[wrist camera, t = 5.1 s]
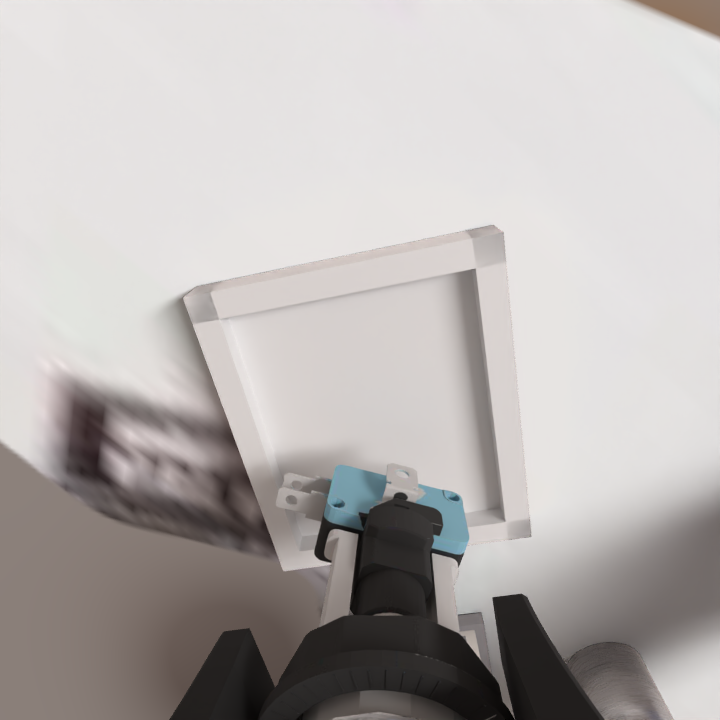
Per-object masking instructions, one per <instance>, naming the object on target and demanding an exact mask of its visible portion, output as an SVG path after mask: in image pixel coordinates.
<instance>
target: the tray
mask: <svg viewBox="0 0 720 720" xmlns="http://www.w3.org/2000/svg"><path fill="white" fill-rule="evenodd" d="M183 300H184V303H185V306H186V308H187V311H188V314H189V316H190V319H191V322H192V325H193V327H194V330H195V333H196V335H197V338H198V341H199V344H200V346H201V349H202V352H203V354H204V357H205V360H206V363H207V365H208V368H209V371H210V373H211V376H212V379H213V382H214V384H215V387H216V390H217V392H218V395H219V398H220V401H221V403H222V406H223V409H224V411H225V414H226V417H227V420H228V422H229V425H230V428H231V430H232V433H233V436H234V439H235V441H236V444H237V447H238V449H239V452H240V455H241V458H242V460H243V463H244V466H245V468H246V471H247V474H248V477H249V479H250V482H251V485H252V487H253V490H254V493H255V496H256V498H257V501H258V504H259V506H260V509H261V512H262V515H263V517H264V520H265V523H266V525H267V528H268V531H269V534H270V536H271V539H272V542H273V544H274V547H275V550H276V553H277V555H278V558H279V561H280V563H281V566H282V569H283V571H289V570H296V569H303V568H310V567H318V566H325V565H331V563H329V562H325V561H321V560H319V559H317V558H316V556H315V555H314V550H315V546H316V541H317V537H318V533H319V529H320V525H321V522H320V521H316V520H312V519H308V518H305V515H306V514H303V513H299V512H296V511H292V510H288V509H284V508H280V507H277V506H276V500H277V495H278V491H279V488H281V487H282V485H283V481H284V476H285V473H287V472H289V473H293V474H297V475H301V476H305V477H309V478H313V479H315V478H316V476H320V477H323V478H327V479H331V480H332V478H333V474H334V470H335V467H336V466H337V465H346V466H350V467H354V468H358V469H362V470H366V471H370V472H374V473H378V474H382V475H386V474H387V464H390V463H394V464H398V465H402V466H406V467H410V468H413V469H414V470H416V471H417V476H418V484H421V485H425V486H429V487H433V488H437V489H441V490H443V489H444V490H448V491H452V492H455V493H457V494H458V495H460V496H461V498H462V500H463V507H464V512H465V517H466V522H467V527H468V532H469V541H468V544H467V546H469V545H476V544H483V543H490V542H497V541H505V540H512V539H519V538H526V537H532V536H531V525H530V515H529V504H528V493H527V482H526V471H525V460H524V450H523V439H522V428H521V417H520V406H519V395H518V385H517V374H516V363H515V352H514V341H513V330H512V320H511V309H510V298H509V287H508V276H507V265H506V255H505V244H504V233H503V231H501V230H500V229H498V228H497V227H495V226H494V225H491V226H486V227H481V228H476V229H471V230H466V231H462V232H457V233H452V234H447V235H442V236H437V237H433V238H428V239H423V240H418V241H413V242H408V243H404V244H399V245H394V246H389V247H384V248H380V249H375V250H370V251H365V252H360V253H355V254H351V255H346V256H341V257H336V258H331V259H326V260H322V261H317V262H312V263H307V264H302V265H297V266H293V267H288V268H283V269H278V270H273V271H268V272H264V273H259V274H254V275H249V276H244V277H239V278H235V279H230V280H225V281H220V282H215V283H211V284H206V285H201V286H197V287H195V288H194V289H193V290H192V291H191V292H189V293H188V294H187V295H186V296H184V297H183ZM396 474H397V475H398V476H399V477H402V478H408V477H409V476H408V475H407V474H406V473H404V472H401V471H397V472H396ZM292 487H293V488H295V489H301V488H302V483H301V482H300V481H297V480H295V481H293V482H292ZM286 501H287V502H288V503H289V504H296V503H297V498H296V497H295V496H293V495H289V496H287V497H286Z"/></svg>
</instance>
